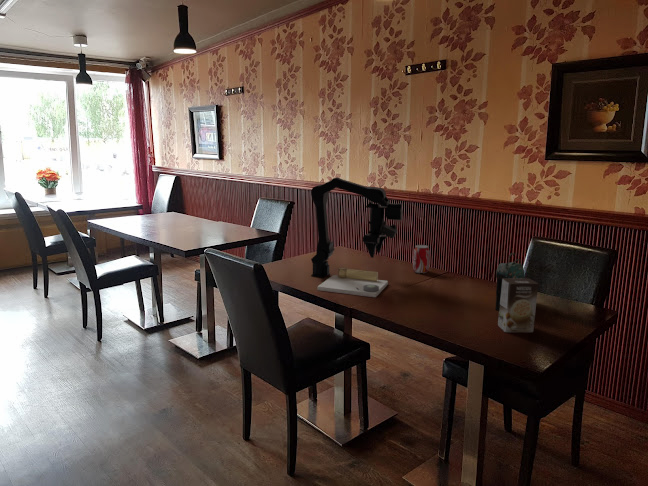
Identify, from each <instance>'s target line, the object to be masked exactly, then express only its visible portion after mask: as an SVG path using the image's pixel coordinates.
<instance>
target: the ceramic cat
mask: <svg viewBox="0 0 648 486" xmlns="http://www.w3.org/2000/svg"><path fill="white" fill-rule="evenodd" d="M511 256H513V257H515V253H514V252H510V254H509V256H508V261H507V262H505V263H504V262H501V263H499V264H498V266H497V269H496V273H495V278H496V288H495V294H496V295H495V296H496V297H495V310H496V311H498V312H499V308H500V298H501V288H502V278H526V277H525V268H524V266H523V264H522V260H521V259H519V258H517V259H515V260H514V261H512V262H510V258H511ZM517 261H518V262H519V263H518V262H517Z"/></svg>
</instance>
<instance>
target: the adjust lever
mask: <svg viewBox="0 0 648 486" xmlns="http://www.w3.org/2000/svg"><path fill="white" fill-rule="evenodd" d="M337 269H338V271H337V272H338V273H337V274H338V277H339V278H352V279H361V280H370V281H377V280H379V271H371V270H370V271H369V270H361V269H352V268H347V267H339V268H337Z"/></svg>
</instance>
